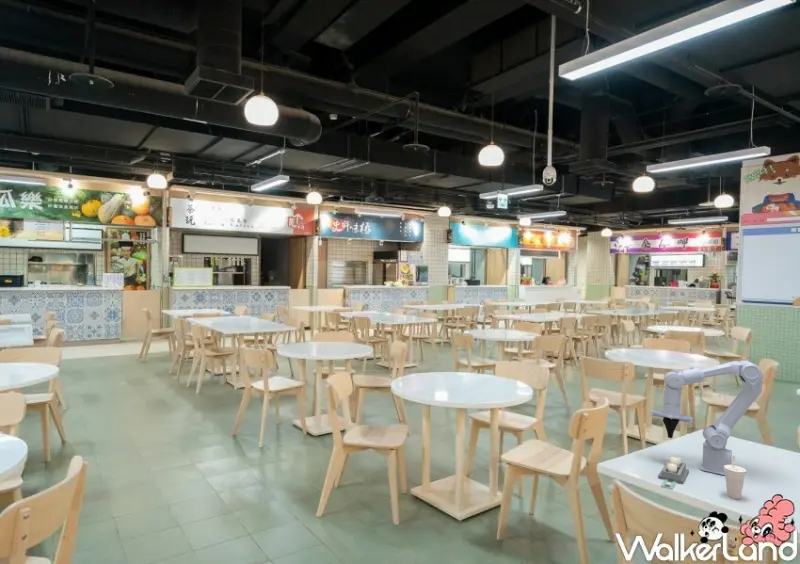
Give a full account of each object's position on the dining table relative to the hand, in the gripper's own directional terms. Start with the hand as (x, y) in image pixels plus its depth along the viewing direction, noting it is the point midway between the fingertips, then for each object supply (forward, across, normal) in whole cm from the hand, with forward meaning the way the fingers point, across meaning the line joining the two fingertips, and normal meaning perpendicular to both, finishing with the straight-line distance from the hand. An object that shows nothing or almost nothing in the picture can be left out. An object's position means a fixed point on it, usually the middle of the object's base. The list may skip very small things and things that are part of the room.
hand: (670, 437), depth 197 cm
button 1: (+9, +3, -16) cm, 19 cm away
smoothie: (+10, +22, -19) cm, 31 cm away
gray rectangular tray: (+10, +4, -12) cm, 16 cm away
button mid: (+8, +3, -12) cm, 15 cm away
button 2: (+9, +3, -7) cm, 12 cm away
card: (+10, +4, -22) cm, 25 cm away
